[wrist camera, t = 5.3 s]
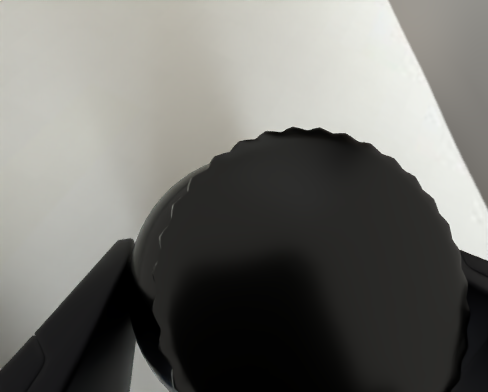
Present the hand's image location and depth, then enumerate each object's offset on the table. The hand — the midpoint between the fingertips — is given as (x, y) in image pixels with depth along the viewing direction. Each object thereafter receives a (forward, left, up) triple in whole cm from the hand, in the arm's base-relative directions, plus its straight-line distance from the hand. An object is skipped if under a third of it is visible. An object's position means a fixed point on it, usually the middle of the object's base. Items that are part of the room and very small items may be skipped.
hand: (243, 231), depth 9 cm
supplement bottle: (-1, +1, -7) cm, 7 cm away
